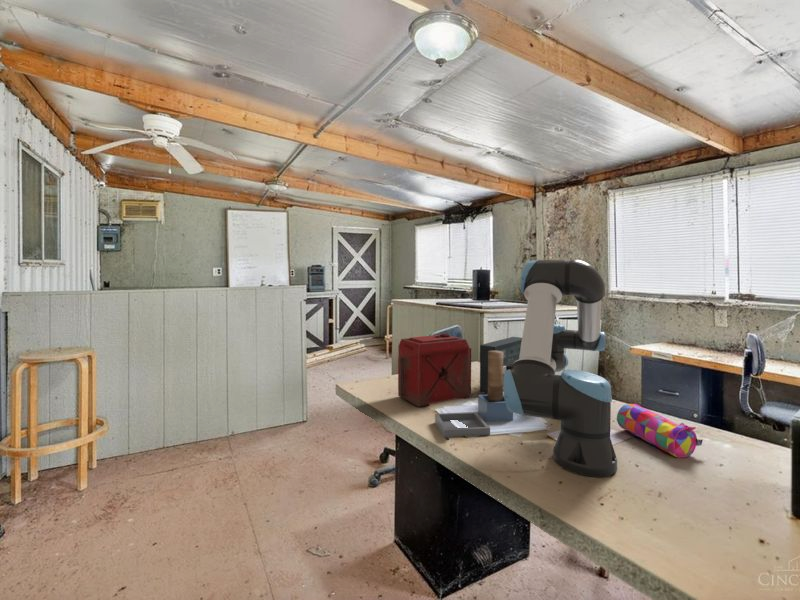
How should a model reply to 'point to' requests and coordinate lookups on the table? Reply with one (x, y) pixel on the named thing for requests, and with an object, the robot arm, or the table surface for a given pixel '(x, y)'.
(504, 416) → the open box
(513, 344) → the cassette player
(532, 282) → the robot arm
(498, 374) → the dowel
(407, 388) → the jerry can
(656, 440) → the pencil case
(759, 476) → the table surface
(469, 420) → the tray
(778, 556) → the table surface
